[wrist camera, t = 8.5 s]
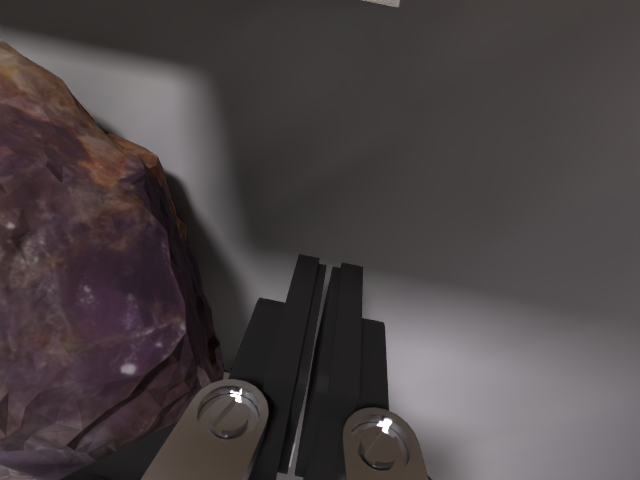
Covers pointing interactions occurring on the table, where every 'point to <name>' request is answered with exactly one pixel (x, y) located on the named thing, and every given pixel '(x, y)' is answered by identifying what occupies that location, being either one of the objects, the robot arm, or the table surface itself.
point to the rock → (88, 286)
